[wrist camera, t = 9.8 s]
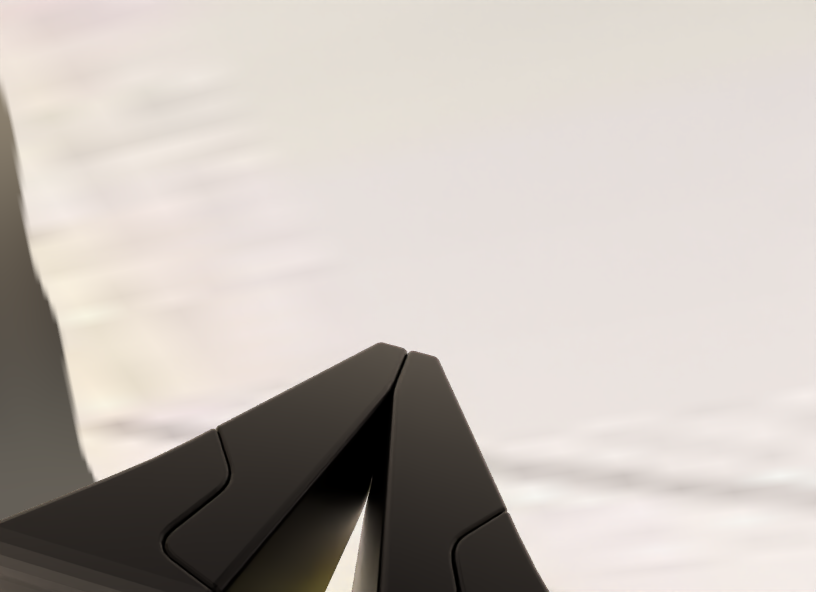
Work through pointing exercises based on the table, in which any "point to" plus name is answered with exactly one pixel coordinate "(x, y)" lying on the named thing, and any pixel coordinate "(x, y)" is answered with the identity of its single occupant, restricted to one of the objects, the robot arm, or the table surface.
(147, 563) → the robot arm
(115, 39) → the table surface
